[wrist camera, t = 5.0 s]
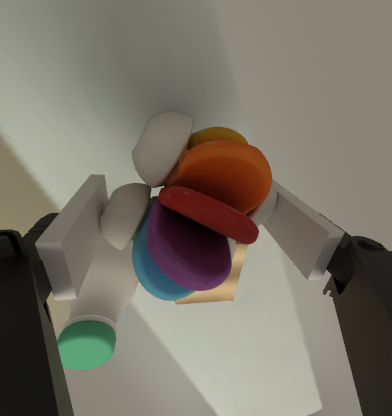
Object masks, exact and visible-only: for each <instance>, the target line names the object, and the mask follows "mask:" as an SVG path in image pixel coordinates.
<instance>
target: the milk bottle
mask: <svg viewBox="0 0 392 416" xmlns="http://www.w3.org/2000/svg"><path fill="white" fill-rule="evenodd" d="M132 247H133V240H132V241H130V243H129V244H128V245H127V246H126V248H125V249H123V250H119V249H117V248H115V247H114V246H112V245H111V244H110V243H109V242H108V241H107V240H106V238H105V237H104V235H103V233H102V236H101V238H100V241H99V243H98V246H97V249H96V251H95V254H94V256H93V259H92V261H91V264H90V266H89V269H88V272H87V274H86V277H85V279H84V282H83V284H82V287H81V289H80V292H79V295H78V297H77V299H69V301H70V317H69V321H67V322H66V323H65V325H64V326H63V328H62V332H61V334H60V335H59V338H58V340H57V345H58V349H59V353H60V357H61V362H62V366H64V367H66V368H69V369H75V370H86V369H92V368H96V367H99V366H100V365H103V364H104V363H106V362H107V361H108V360H109V359H110V358H111V356H112V354H113V352H114V347H115V341H116V334H117V326H116V322H117V320H118V318H119V316H120V314H121V312H122V310H123V309H124V308H125V307H126V305H127V304H128V302H129V301H130V300H131V298H132V296H133V294H134V292H135V290H136V287H137V284H138V278H137V276H136V274H135V271H134V267H133V262H132Z"/></svg>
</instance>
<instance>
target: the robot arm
mask: <svg viewBox="0 0 392 416" xmlns="http://www.w3.org/2000/svg"><path fill="white" fill-rule="evenodd" d="M273 181H274V180H273ZM274 183H275V186H276V190H277V201H276V205H275V208H274V210H273V212H272V214H271V215H270V217H269V218H268V219H267V220H266V221H265V222H264V223H262V225H263V226H264V227H265V228H266V230H267V231H268V232H269V233H270V234H271V236H272V237H273V238H274V239H275V241H276V242H277V243H278V244H279V246H280V247H281V248H282V249H283V251H284V252H285V253H286V254H287V255H288V257H289V258H290V259H291V260H292V262H293V263H294V264H295V265H296V267H297V268H298V269H299V270H300V271H301V273H302V274H303V275H304V276H305V278H306V279H307V280H316V279H322V277H323V275H324V273H325V271H326V269H327V270H328V271H329V272H330V273H331V277H330V279H329V281H328V283H327V284H326V287H325V289H324V290H323V294H326V293H327V291H328V290H331V293H330V295H329V296H331V297H333V301H334V305H335V309H336V312H337V316H338V320H339V324H340V328H341V332H342V336H343V340H344V344H345V347H346V352H347V356H348V360H349V363H350V367H351V371H352V375H353V379H354V383H355V386H356V390H357V395H358V398H359V402H360V406H361V410H362V414H363V416H392V251H388V250H387V249H386V248H385V247H384V246H383V245H382V244H380V243H378V242H376V241H374V240H372V239H369V238H366V237H362V236H353V237H352V236H351V235H349V234H348V233H346V232H345V231H344V230H342V229H341V228H340V227H338V226H337V225H335V224H333V223H332V222H331V221H330V220H328V219H327V218H326V217H324V216H323V215H322V214H320V213H318V212H316V211H315V210H314V209H312V208H311V207H309V206H308V205H307V204H306V203H304V202H303V201H301V200H300V199H299V198H297V197H296V196H295V195H293V194H292V193H291V192H289V191H288V190H287V189H285V188H284V187H282V186H281V185H280V184H278V183H277V182H276V181H274ZM107 203H108V196H107V189H106V181H105V175H90V176H89V178H88V179H87V180H86V181H85V183H84V184H83V185H82V186H81V187H80V189H79V190H78V191H77V192H76V194H75V195H74V196H73V197H72V198H71V200H70V201H69V202H68V203H67V205H66V206H65V207H64V208H63V209H62V211H61V212H60V213H50V214H48V215H46V216H44V217H43V218H41V219H40V220H39V221H38V222H37V223H36V224H35V225H34V227H32V228H31V229H30V230H29V231H28V233H26V234H25V236H24V237H23V238H22V237H21V235H20V233H19V232H18V231H15V230H0V416H74V414H73V409H72V404H71V400H70V396H69V392H68V387H67V383H66V379H65V375H64V370H63V366H62V362H61V357H60V353H59V349H58V345H57V340H56V336H55V332H54V328H53V323H52V319H51V315H50V311H49V307H48V304H47V301H46V300H47V298H48V296H49V294H50V292H51V290H52V293H53V296H54V299H55V301H56V300H69V299H77V297H78V295H79V292H80V289H81V287H82V284H83V282H84V279H85V277H86V274H87V272H88V269H89V266H90V264H91V261H92V259H93V256H94V254H95V251H96V249H97V246H98V243H99V241H100V238H101V236H102V230H101V227H100V218H101V215H102V213H103V211H104V209H105V207H106V205H107Z"/></svg>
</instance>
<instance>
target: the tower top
mask: <svg viewBox="0 0 392 416" xmlns="http://www.w3.org/2000/svg"><path fill="white" fill-rule="evenodd" d="M247 246H248V244H242V243H240V242H238V241H236V250H235V255H234V258H233V260H232V268H231V271H230V274H229V276H228V278H227V279H226V280H225V281H224V282H223V283H222V284H221V285H219V286H218V287H216V288H214V289H211V290H207V291H195V292H194V293H192V294H191V295H189V296H187V297H185V298H182V299H179V300H175V302H176V304H189V303H203V302H217V301H231V300H233V299H234V295H235V292H236V288H237V284H238V280H239V276H240V272H241V269H242V265H243V261H244V257H245V253H246V250H247Z"/></svg>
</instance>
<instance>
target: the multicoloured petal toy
mask: <svg viewBox="0 0 392 416" xmlns="http://www.w3.org/2000/svg"><path fill="white" fill-rule="evenodd" d="M193 124H194V121H193V119H192V118H191V117H190V116H188V115H185V114H182V113H178V112H164V113H160V114H157V115H155V116H153V117H151V118H150V120H149V121H148V123H147V125H146V127H145V128H144V130H143V132H142V134H141V136H140V138H139V140H138V142H137V144H136V145H135V147H134V149H133V151H132V158H133V162H134V166H135V169H136V171H137V173H138V174H139V176H140V177H141V179H142V180H143V181H144V182H145V183H146V184H147V185H146V184H141V183H132V184H126V185H123V186H121V187H119V188H117V189H116V190H115V191H114V192H113V193H112V195H111V197H110V199H109V201H108V203H107V205H106V207H105V209H104V211H103V213H102V215H101V218H100V227H101V230H102V233H103V235H104V237H105V238H106V240H107V241H108V242H109V243H110V244H111V245H112V246H114V247H115V248H117V249H119V250H123V249H125V248H126V246H127V245H128V244H129V243H130V241H132V240H133V247H132V262H133V267H134V271H135V274H136V276H137V278H138V280H139V282H140V283H141V284H142V286H143V287H144V288H145V289H146V290H147V291H148V292H149V293H151V294H152V295H154V296H155V297H157V298H160V299H162V300H167V301H173V300H179V299H182V298H185V297H187V296H189V295H191V294H192V293H194V292H195V291H207V290H211V289H214V288H216V287H218V286H219V285H221V284H222V283H223V282H224V281H225V280H226V279H227V278H228V276H229V274H230V271H231V268H232V260H233V258H234V255H235V250H236V241H238V242H240V243H242V244H251V243H254V242H255V241H256V239H257V237H258V234H259V230H258V227H257V226H259V225H261V224H262V223H264V222H265V221H266V220H267V219H268V218H269V217H270V215H271V214H272V212H273V210H274V208H275V205H276V201H277V190H276V186H275V183H274V181H273V179H272V174H271V169H270V166H269V164H268V161H267V160H266V158H265V156H264V155H263V154H262V152H261V151H260V150H259V149H258V148H256V147H254V146H252V145H249V144H248V142H247V141H246V139H245V138H244V137H243V136H242V135H241V134H239V133H238V132H236V131H234V130H231V129H228V128H223V127H212V128H207V129H204V130H201V131H199V132H197V133H193V134H192V135H191V132H192V128H193ZM190 135H191V136H190ZM161 186H165V187H164V188H162V189H161V190H160V192H159V196H154V197H152V198H150V195H151V187H152V188H156V187H161Z"/></svg>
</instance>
